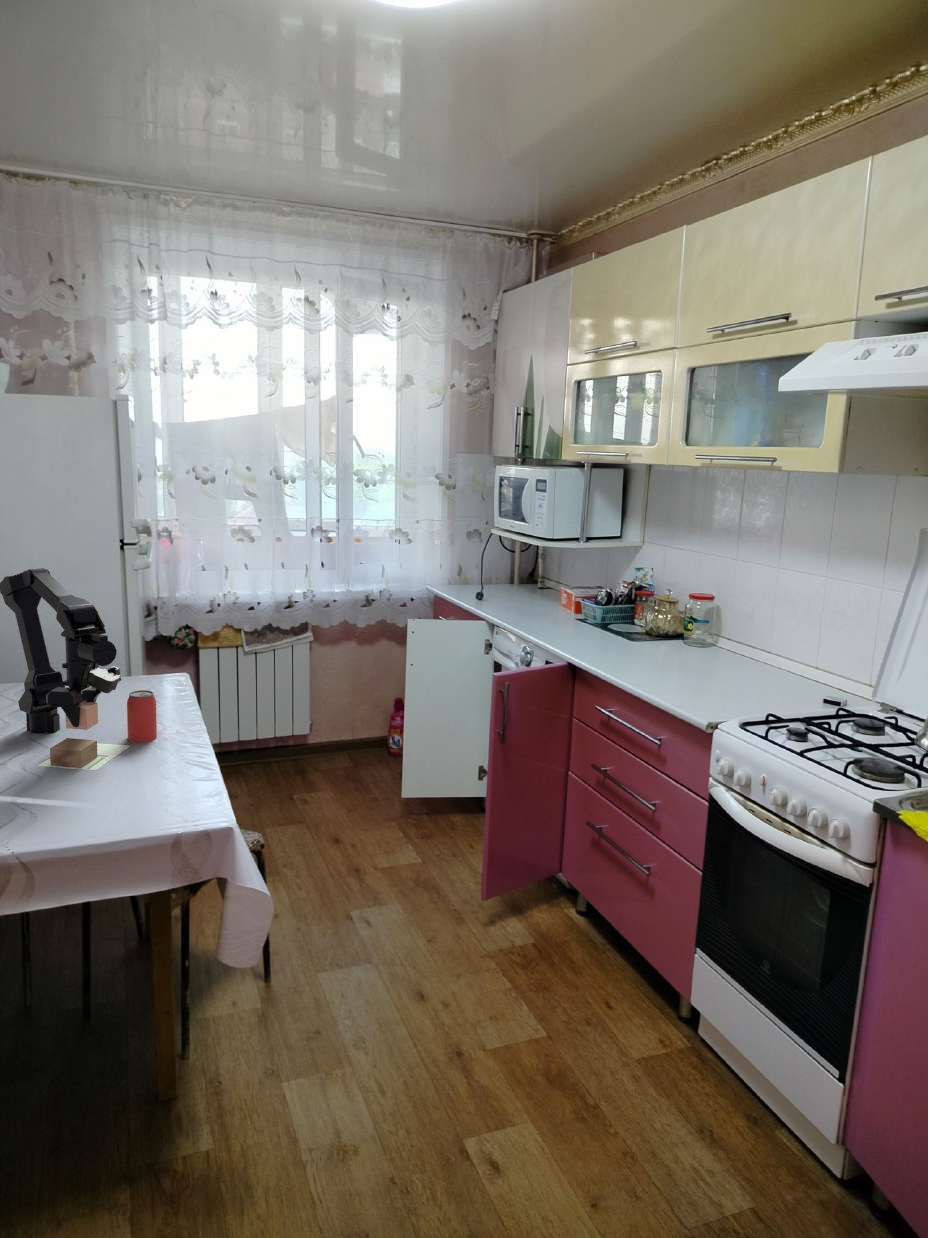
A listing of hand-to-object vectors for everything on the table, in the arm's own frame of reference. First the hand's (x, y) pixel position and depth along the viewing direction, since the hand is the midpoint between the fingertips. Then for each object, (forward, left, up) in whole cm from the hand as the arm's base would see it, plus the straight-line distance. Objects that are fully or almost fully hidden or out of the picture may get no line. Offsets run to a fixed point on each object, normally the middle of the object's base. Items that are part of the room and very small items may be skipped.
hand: (82, 723), depth 196 cm
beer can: (+10, +9, -7) cm, 15 cm away
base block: (+3, -9, -6) cm, 11 cm away
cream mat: (+3, -5, -7) cm, 9 cm away
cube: (0, 0, -1) cm, 1 cm away
